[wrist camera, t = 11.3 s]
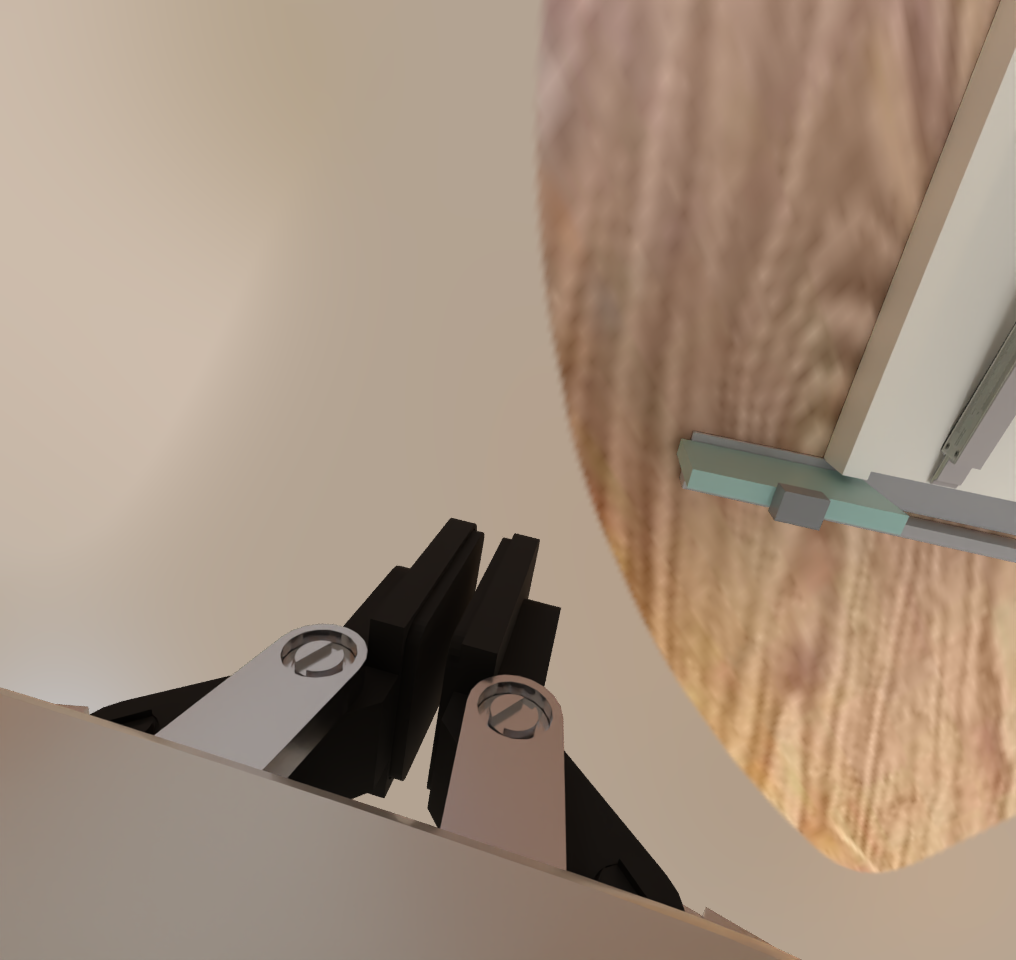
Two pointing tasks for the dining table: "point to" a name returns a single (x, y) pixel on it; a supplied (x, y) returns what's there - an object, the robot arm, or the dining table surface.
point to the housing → (941, 330)
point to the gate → (788, 488)
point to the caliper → (981, 419)
